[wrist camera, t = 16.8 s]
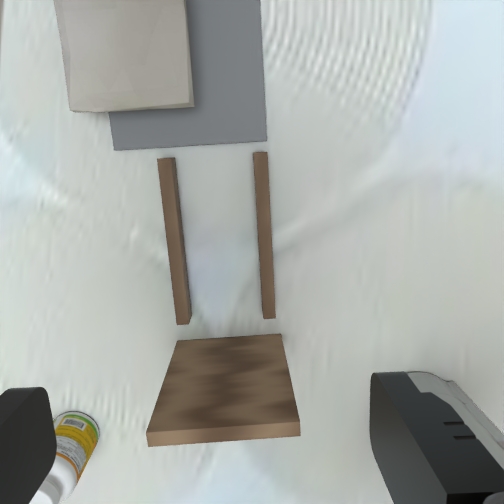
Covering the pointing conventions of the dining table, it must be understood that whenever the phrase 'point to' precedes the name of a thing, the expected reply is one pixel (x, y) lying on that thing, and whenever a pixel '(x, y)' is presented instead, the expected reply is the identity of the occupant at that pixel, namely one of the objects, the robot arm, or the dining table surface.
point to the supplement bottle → (68, 457)
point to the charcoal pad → (209, 84)
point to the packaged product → (125, 54)
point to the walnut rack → (222, 351)
